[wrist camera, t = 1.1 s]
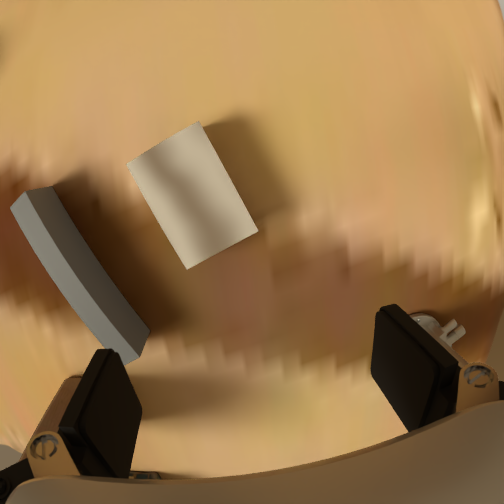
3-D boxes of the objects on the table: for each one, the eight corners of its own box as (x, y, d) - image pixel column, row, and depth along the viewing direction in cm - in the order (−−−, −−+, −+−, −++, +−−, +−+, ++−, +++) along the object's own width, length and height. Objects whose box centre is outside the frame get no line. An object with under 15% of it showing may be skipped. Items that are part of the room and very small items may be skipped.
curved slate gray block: (51, 186, 31) (25, 191, 25) (150, 330, 37) (139, 357, 31) (37, 200, 31) (10, 207, 25) (133, 340, 37) (121, 366, 31)
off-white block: (202, 127, 31) (198, 120, 27) (253, 221, 35) (258, 231, 30) (139, 164, 32) (126, 164, 27) (191, 255, 35) (186, 269, 30)
